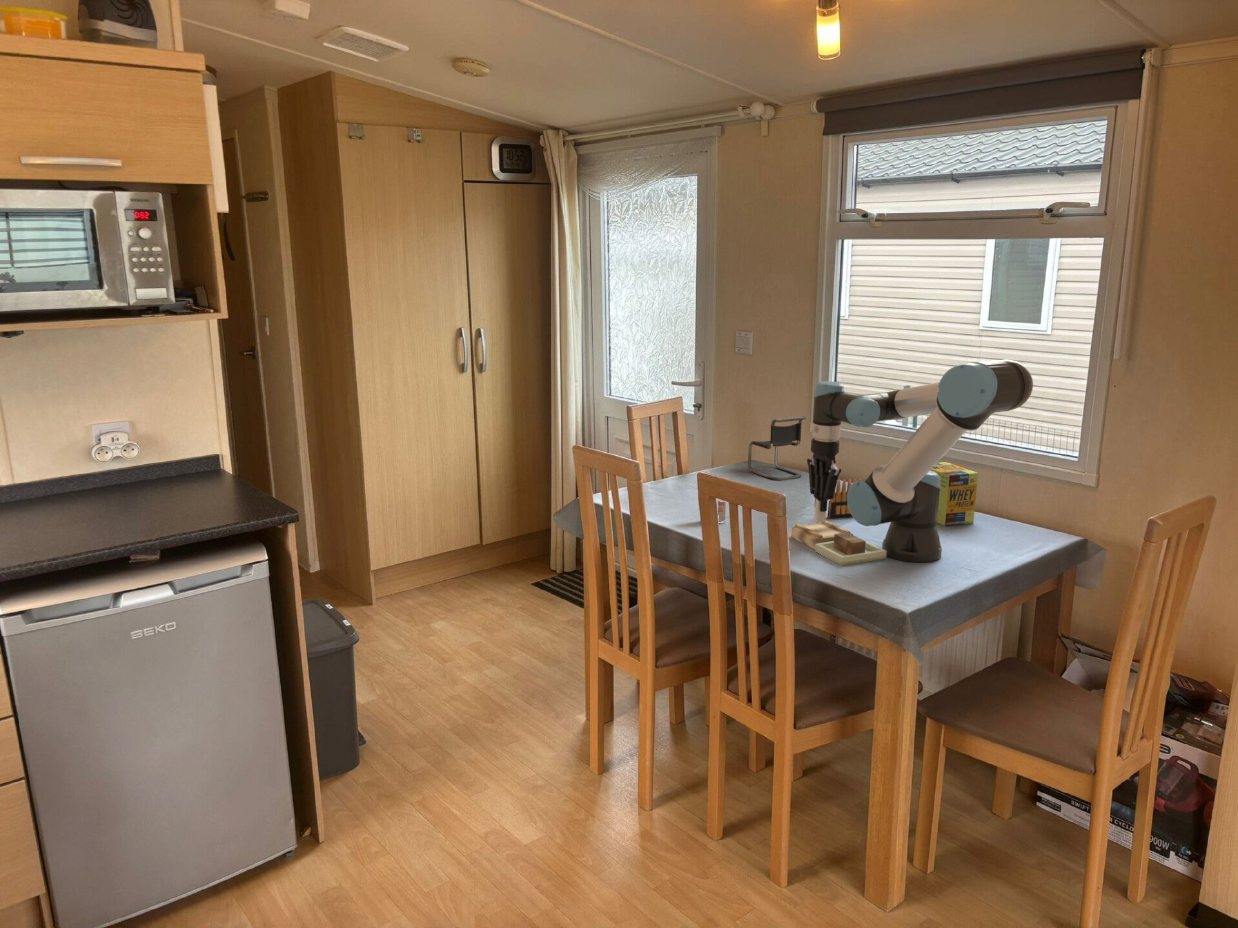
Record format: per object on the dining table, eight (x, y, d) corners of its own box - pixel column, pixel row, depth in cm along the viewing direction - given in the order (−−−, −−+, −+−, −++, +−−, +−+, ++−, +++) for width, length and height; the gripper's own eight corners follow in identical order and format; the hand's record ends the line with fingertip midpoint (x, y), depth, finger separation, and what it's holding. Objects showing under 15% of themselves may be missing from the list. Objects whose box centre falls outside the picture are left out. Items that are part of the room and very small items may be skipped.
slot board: (852, 544, 250) (853, 531, 249) (815, 549, 245) (816, 536, 244) (827, 532, 260) (827, 519, 259) (791, 537, 256) (791, 524, 255)
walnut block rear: (855, 550, 242) (856, 536, 241) (842, 552, 240) (843, 538, 240) (846, 546, 246) (846, 532, 245) (833, 548, 244) (834, 534, 243)
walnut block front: (855, 551, 242) (864, 555, 238) (842, 552, 240) (851, 557, 237) (856, 536, 241) (865, 541, 237) (843, 538, 239) (852, 542, 236)
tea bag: (699, 521, 271) (699, 489, 268) (720, 519, 272) (721, 487, 270) (703, 525, 267) (704, 492, 265) (725, 523, 269) (725, 490, 266)
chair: (775, 481, 317) (778, 419, 312) (747, 471, 332) (749, 411, 327) (805, 477, 322) (808, 416, 317) (776, 467, 337) (778, 408, 332)
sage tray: (886, 558, 238) (886, 550, 238) (841, 565, 233) (841, 557, 233) (857, 545, 249) (858, 537, 249) (814, 551, 244) (815, 543, 243)
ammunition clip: (859, 514, 278) (861, 476, 275) (862, 516, 276) (864, 478, 273) (827, 517, 275) (829, 478, 272) (829, 518, 273) (832, 480, 271)
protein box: (944, 526, 266) (949, 475, 262) (912, 512, 280) (916, 463, 276) (974, 523, 269) (979, 472, 265) (941, 509, 283) (945, 461, 280)
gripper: (800, 434, 251) (795, 516, 257) (828, 445, 239) (822, 530, 245) (823, 432, 254) (817, 513, 260) (851, 442, 242) (845, 526, 248)
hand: (819, 521), depth 253 cm, fingers closed
